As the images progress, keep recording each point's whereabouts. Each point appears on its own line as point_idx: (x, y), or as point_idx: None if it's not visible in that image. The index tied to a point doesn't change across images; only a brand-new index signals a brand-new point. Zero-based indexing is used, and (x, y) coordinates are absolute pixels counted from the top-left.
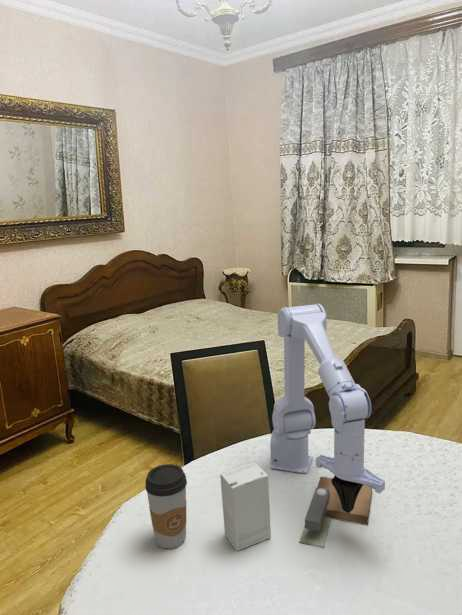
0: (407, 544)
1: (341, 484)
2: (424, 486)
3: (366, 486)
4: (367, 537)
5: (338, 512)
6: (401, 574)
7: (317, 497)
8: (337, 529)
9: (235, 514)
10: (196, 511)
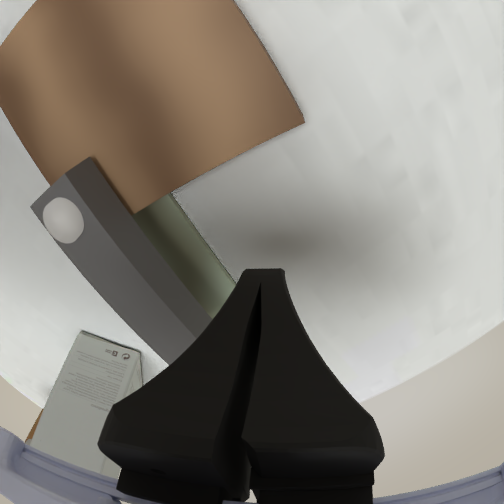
0: (474, 128)
1: (245, 496)
2: None
3: None
4: (344, 184)
5: (177, 186)
6: (481, 261)
7: (85, 256)
8: (227, 221)
9: (120, 468)
10: (22, 352)
